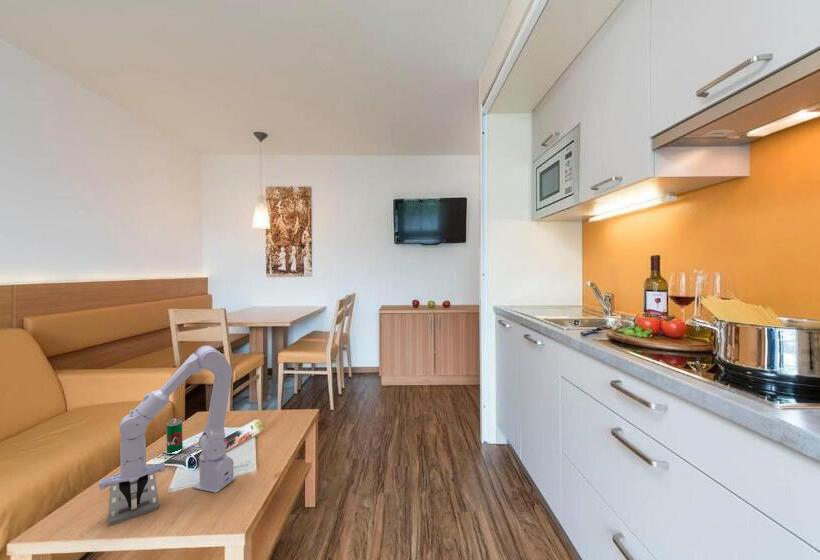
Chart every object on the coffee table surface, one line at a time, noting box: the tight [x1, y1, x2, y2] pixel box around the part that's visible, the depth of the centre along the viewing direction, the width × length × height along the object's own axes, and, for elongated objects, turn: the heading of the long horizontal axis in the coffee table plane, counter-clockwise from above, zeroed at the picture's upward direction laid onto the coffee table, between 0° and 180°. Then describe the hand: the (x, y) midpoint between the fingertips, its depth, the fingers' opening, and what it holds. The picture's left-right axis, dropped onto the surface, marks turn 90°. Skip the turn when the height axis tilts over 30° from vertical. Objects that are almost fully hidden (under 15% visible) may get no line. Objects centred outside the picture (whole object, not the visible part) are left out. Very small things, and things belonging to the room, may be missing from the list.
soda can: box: [165, 418, 184, 454], centre depth 132 cm, size 5×5×12 cm
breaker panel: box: [107, 473, 160, 527], centre depth 105 cm, size 11×22×4 cm, turn 39°
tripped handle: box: [131, 494, 137, 510], centre depth 99 cm, size 1×3×3 cm, turn 39°
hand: (134, 504), depth 99 cm, fingers closed, pressing on tripped handle
